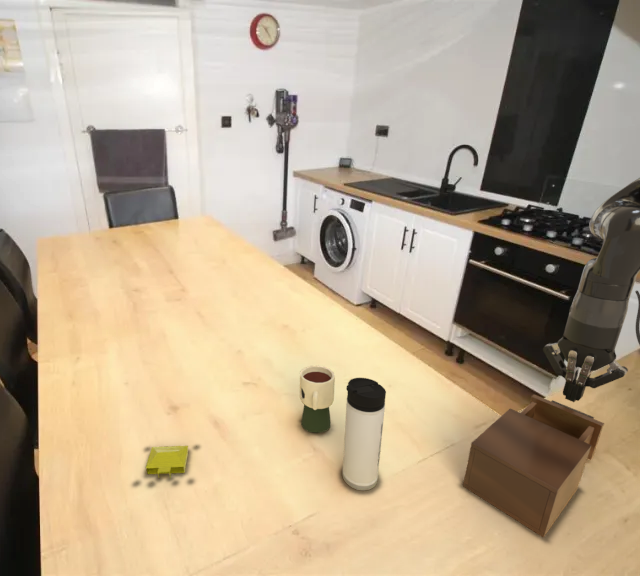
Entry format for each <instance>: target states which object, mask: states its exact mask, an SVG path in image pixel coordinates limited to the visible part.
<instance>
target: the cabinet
mask: <svg viewBox="0 0 640 576" xmlns="http://www.w3.org/2000/svg"><path fill="white" fill-rule="evenodd" d="M590 448H591V445H590V444H588V443H586V442H583V441H581V440H579V439H577V438H575V437H572V436H570V435H568V434H566V433H564V432H561V431H559V430H557V429H555V428H552V427H550V426H548V425H546V424H544V423H541V422H539V421H537V420H535V419H533V418H530V417H528V416H526V415H524V414H521V412H519V411H517V410H514V409H513V408H508V409H507V410H506V411H505V412H504V413H503V414H502V415H500V416H499V417H498V418H497V419H496V420H495V421H494V422H493V423H492V424H491V425H489V426H488V427H487V428H486V429H485V430H484V431H483V432H482V433H481V434H480V435H478V436H477V437H476V438H475V439H474V440H473V441H471V443H470V448H469V453H468V459H467V464H466V469H465V474H464V479H463V484H462V487H464V488H465V489H467V490H468V491H470V492H472V493H473V494H475V495H476V496H478V497H479V498H481V499H482V500H484V501H486V502H487V503H488V504H489V505H492V506H493V507H495V508H496V509H498V510H500V511H501V512H503V513H505V514H506V515H507V516H509V517H510V518H512V519H514V520H515V521H517V522H518V523H520V524H522V525H523V526H525V527H526V528H528V529H529V530H531V531H533V532H534V533H536V534H537V535H539V536H540V537H542V538H545V536H546V535H547V533H548V532H549V530H550V529H551V528H552V526H553V525H554V524H555V522H556V520H557V519H558V518H559V516H560V515H561V513H562V512H563V511H564V510H565V507H566V506H567V505H568V503H569V502H570V500H571V499H572V497H573V496H574V495H575V494H576V493H577V490H578V489H579V485H580V482H581V479H582V476H583V472H584V470H585V467H586V463H587V461H588V459H587V458H588V455H589V452H590Z"/></svg>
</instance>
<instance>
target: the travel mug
mask: <svg viewBox="0 0 640 576" xmlns="http://www.w3.org/2000/svg"><path fill="white" fill-rule="evenodd" d="M346 391H347V395H346V403H345V405H346V406H345V420H344V421H345V422H344V424H345V425H344V438H343V439H344V440H343V454H342V455H343V457H342V471H341V474H342V475H341V476H342V479H343V481H344V482H345V483H346V485H348V486H349V488H352V489H354V490H357V491H369V490H372V489H373V488H374V487H376V485H377V483H378V479H379V471H380V458H381V450H382V449H381V448H382V439H383V431H384V430H383V428H384V421H385V420H384V417H385V409H386V396H387V395H386V394H387V390H386V389H385V388H384V387H383V386H382V385H381V384H379V382H378V381H376V380H374V379H371V378H367V377H354V378H351V379H350V380H349V381H348V383H347V385H346Z"/></svg>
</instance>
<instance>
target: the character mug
mask: <svg viewBox="0 0 640 576" xmlns="http://www.w3.org/2000/svg"><path fill="white" fill-rule="evenodd" d="M335 383H336V375H335V371H333V370H332V369H331V368H329V367H326V366H325V365H319V364H318V365H309V366H305V367H303V368H302V369H301V370H300V372H299V400H300V402H301V403H302V404H303V409H302V414H301V415H302V416H301V424H300V426H301V427H302V429H304V430H305V431H307V432H308V433H324V432H327V431H329V429H330V428H331V412H330V407H331V406H332V405H333V403H334V401H335V385H336V384H335Z"/></svg>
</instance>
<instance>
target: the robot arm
mask: <svg viewBox="0 0 640 576" xmlns="http://www.w3.org/2000/svg"><path fill="white" fill-rule="evenodd" d="M588 229H589V231H590V233H591V234H592V236H593V237H594V238H596V239H597V240H599V241H601V242H602V246H601V248H600V251H599V253H598V255H597V256H596V257H594V258H591V259H589V260H588V261H587V262H586V263H585V265H584V267H583V269H582V273H581V277H580V280H579V284H578V286H577V290H576V293H575V295H574V297H573V300H572V302H571V305H570V307H569V313H568V317H567V320H566V324H565V326H564V327H565V328H564V330H563V335H562V337H561V338H560V339H559V340H558V341H557V342H554V343H553V342H549V343H547V344H545V345H544V346H543V347H542V351H543V353H544V355H545V357H546V359H547V360H548V362H549V364H550V366H551V367H552V370H553V371H554V373H555V374H556V375H557V376H558V377H562V378H563V379H564V380H565V382H564V386H563V388H562V396H565V397H564V399H565V400H567V401H570V402H572V403H575V402H576V401H577V402H579V401H581V399H582V398H583V397H584V393H585V390H586V387H587V388H591V389H596V388H599V387H603V386H604V385H607V384H609V383H611V382H614V381H617V380H620V379H622V378H623V377H624V376H625V375H627V373H628V372H629V368H627V366H624V365H621V364H620V363H619V362H618V361H617V354H616V347H617V344H618V341H619V338H620V335H621V332H622V329H623V326H624V323H625V319H626V317H627V313H628V310H629V303H630V298H631V295H632V292H633V289H634V286H635V284H636V280H637V276H638V274H639V273H640V177H638V178H637V179H635V180H634V181H632V182H630V183H629V184H627V185H626V186H624V187H623V188H621V189H619V190H618V191H617V192H615V193H614V194H612V195H611V196H610V197H608V198H607V199H606V200H605V201H603V202H602V203H601V204H600V205H599V206H598V207H597V208H596V209H595V211H594V212H593V214H592V215H591V216H590V219H589V225H588ZM635 295H636V297H637V301H638V307H637V314H636V320H635V336H636V339H637V343H638V345H639V346H640V292H639V290H635ZM560 354H561V355H562V356H563V358H562V356H561V355H560ZM563 359H564V360H565V361H564V360H563ZM565 362H566V363H565ZM608 365H609V367H607V369H606V372H605V373H602V374H600V375H597V376H595V377H591V375H592V373H594V372H595V371H598V370H600V369H602V368H604V367H606V366H608Z"/></svg>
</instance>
